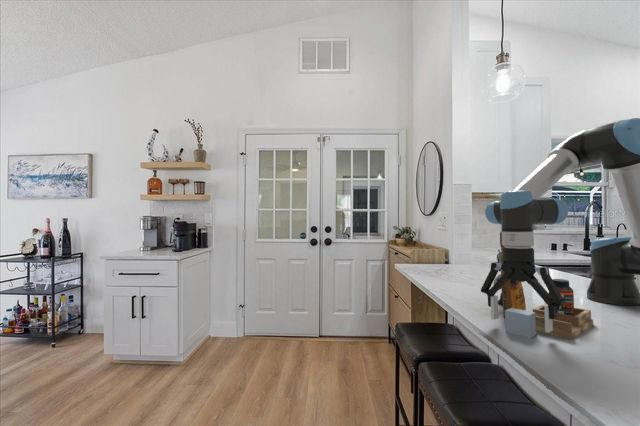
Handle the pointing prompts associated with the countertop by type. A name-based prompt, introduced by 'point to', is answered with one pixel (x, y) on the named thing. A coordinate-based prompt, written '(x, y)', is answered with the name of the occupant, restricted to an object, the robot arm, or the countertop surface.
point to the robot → (499, 259)
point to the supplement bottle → (565, 297)
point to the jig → (564, 322)
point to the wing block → (520, 322)
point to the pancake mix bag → (512, 292)
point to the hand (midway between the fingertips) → (520, 324)
